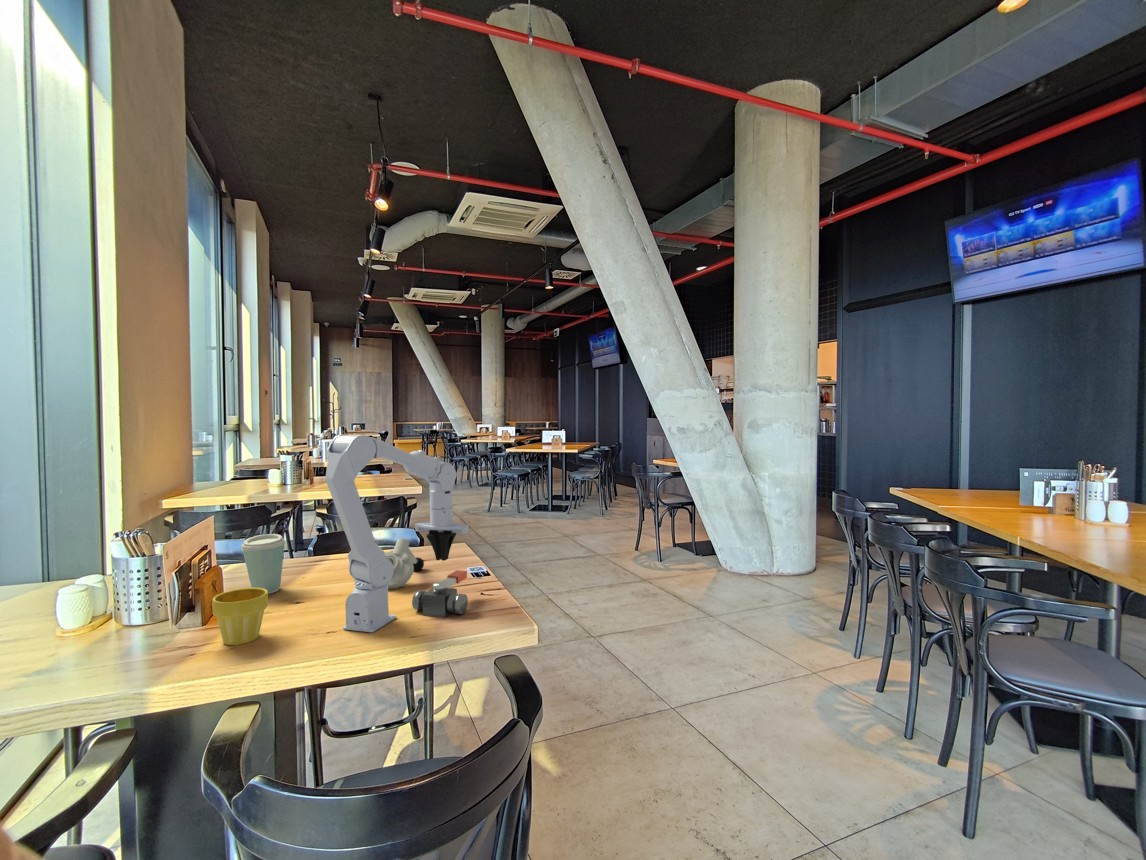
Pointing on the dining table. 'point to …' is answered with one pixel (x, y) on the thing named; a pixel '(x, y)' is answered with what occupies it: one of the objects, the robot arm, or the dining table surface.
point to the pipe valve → (440, 602)
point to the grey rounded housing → (402, 564)
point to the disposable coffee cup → (264, 561)
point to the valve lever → (449, 581)
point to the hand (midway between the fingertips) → (442, 559)
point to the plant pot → (240, 614)
